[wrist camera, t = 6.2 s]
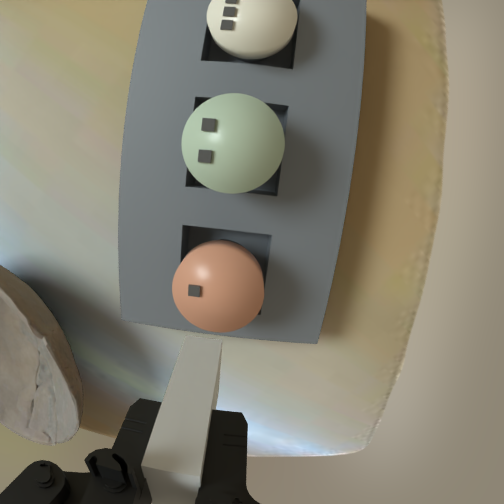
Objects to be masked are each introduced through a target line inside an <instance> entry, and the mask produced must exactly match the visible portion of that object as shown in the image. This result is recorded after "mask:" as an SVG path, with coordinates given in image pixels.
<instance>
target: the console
mask: <svg viewBox="0 0 504 504" xmlns="http://www.w3.org/2000/svg"><path fill="white" fill-rule="evenodd" d="M211 1H212V0H148V1H147V5H146V8H145V12H144V16H143V21H142V25H141V29H140V34H139V38H138V43H137V48H136V53H135V58H134V63H133V69H132V75H131V81H130V87H129V94H128V101H127V108H126V116H125V125H124V134H123V145H122V156H121V170H120V188H119V221H118V251H119V284H120V302H121V316H122V320H124V321H129V322H135V323H140V324H146V325H152V326H158V327H164V328H171V329H177V330H184V331H191V332H198V333H206V334H214V335H222V336H231V337H240V338H249V339H259V340H270V341H282V342H295V343H310V344H317V343H318V339H319V335H320V331H321V327H322V323H323V319H324V315H325V311H326V306H327V302H328V298H329V294H330V289H331V285H332V280H333V275H334V271H335V266H336V261H337V256H338V251H339V246H340V241H341V236H342V231H343V225H344V220H345V214H346V208H347V202H348V196H349V190H350V184H351V177H352V170H353V163H354V156H355V149H356V141H357V133H358V124H359V115H360V105H361V94H362V83H363V70H364V55H365V35H366V0H292V1H293V2H294V4H295V7H296V10H297V23H296V26H295V29H294V32H293V35H292V38H291V40H290V41H289V43H288V44H287V45H286V46H285V47H284V48H283V49H282V50H281V51H279V52H278V53H276V54H274V55H272V56H271V57H269V58H267V59H265V60H261V61H255V62H249V61H243V60H240V59H237V58H236V57H234V56H232V55H230V54H228V53H226V52H225V51H223V50H222V49H221V48H220V47H219V46H218V45H217V44H216V43H215V41H214V39H213V37H212V35H211V32H210V30H209V27H208V24H207V10H208V7H209V4H210V2H211ZM228 93H240V94H246V95H249V96H252V97H255V98H257V99H259V100H261V101H262V102H264V103H265V104H266V105H268V106H269V107H270V108H271V109H272V110H273V111H274V113H275V114H276V116H277V117H278V119H279V121H280V123H281V125H282V128H283V132H284V137H285V149H284V154H283V158H282V160H281V163H280V165H279V167H278V169H277V170H276V172H275V173H274V174H273V175H272V177H271V178H270V179H269V180H267V181H266V182H265V183H264V184H262V185H261V186H259V187H257V188H255V189H253V190H250V191H247V192H243V193H236V194H229V193H222V192H218V191H214V190H212V189H210V188H208V187H206V186H204V185H203V184H201V183H200V182H199V181H198V180H197V179H196V178H195V177H194V176H193V175H192V174H191V172H190V171H189V169H188V167H187V166H186V163H185V161H184V158H183V154H182V146H181V144H182V134H183V130H184V127H185V125H186V123H187V120H188V119H189V117H190V116H191V114H192V113H193V112H194V111H195V109H196V108H198V107H199V106H200V105H201V104H202V103H204V102H205V101H207V100H209V99H211V98H213V97H215V96H218V95H222V94H228ZM220 239H226V240H231V241H234V242H237V243H239V244H240V245H242V246H243V247H244V248H246V249H247V250H248V251H249V252H251V254H252V255H253V256H254V257H255V258H256V260H257V261H258V263H259V265H260V267H261V270H262V273H263V281H264V300H263V304H262V307H261V309H260V311H259V313H258V314H257V316H256V317H255V318H254V319H253V320H252V321H251V322H250V323H249V324H247V325H246V326H244V327H242V328H240V329H238V330H235V331H231V332H222V333H219V332H210V331H206V330H203V329H201V328H198V327H197V326H195V325H193V324H192V323H190V322H189V321H188V320H187V319H186V318H185V317H184V316H183V315H182V314H181V313H180V311H179V310H178V308H177V306H176V304H175V302H174V299H173V294H172V282H173V278H174V275H175V272H176V270H177V269H178V267H179V265H180V264H181V262H182V261H183V259H184V258H185V256H186V255H187V254H188V253H189V252H190V251H191V250H192V249H193V248H195V247H196V246H198V245H200V244H202V243H205V242H208V241H212V240H220Z"/></svg>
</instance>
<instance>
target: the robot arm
mask: <svg viewBox="0 0 504 504" xmlns="http://www.w3.org/2000/svg"><path fill="white" fill-rule="evenodd" d="M221 352H222V340H221V339H213V338H205V337H197V336H189V335H186V336H185V339H184V342H183V344H182V347H181V350H180V353H179V356H178V358H177V361H176V364H175V367H174V369H173V372H172V375H171V378H170V381H169V384H168V386H167V389H166V392H165V395H164V398H163V401H162V402H156V401H151V400H146V399H142V398H140V399H139V400H137V401H136V402H135V403H134V404H133V405H132V406H130V408H129V411H128V413H127V415H126V417H125V420H124V422H123V424H122V428H121V429H120V431H119V433H118V436H117V438H116V440H115V443H114V445H113V447H112V449H108V448H104V449H98V450H95V451H93V452H92V453H90V454H89V455H88V456H87V457H86V458H85V463H86V464H87V466H88V469H89V471H90V472H88V473H78V472H65V471H62V470H61V469H60V468H59V467H58V466H57V465H56V464H54V463H52V462H50V461H44V460H41V461H36V462H33V463H32V464H30V465H29V466H28V467H27V468H26V469H25V470H24V471H23V472H22V473H21V474H20V475H19V476H18V477H17V478H16V479H15V480H14V481H13V482H12V483H11V484H10V485H9V486H8V487H7V488H6V489H5V490H4V491H3V492H2V493H1V494H0V504H151V503H152V504H260V503H258V502H257V501H255V500H254V499H253V498H252V497H251V496H250V494H249V493H248V490H247V487H246V466H247V431H248V424H247V422H246V420H245V418H244V416H243V414H242V413H241V412H231V411H221V410H216V405H217V398H218V391H219V379H220V365H221Z"/></svg>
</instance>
